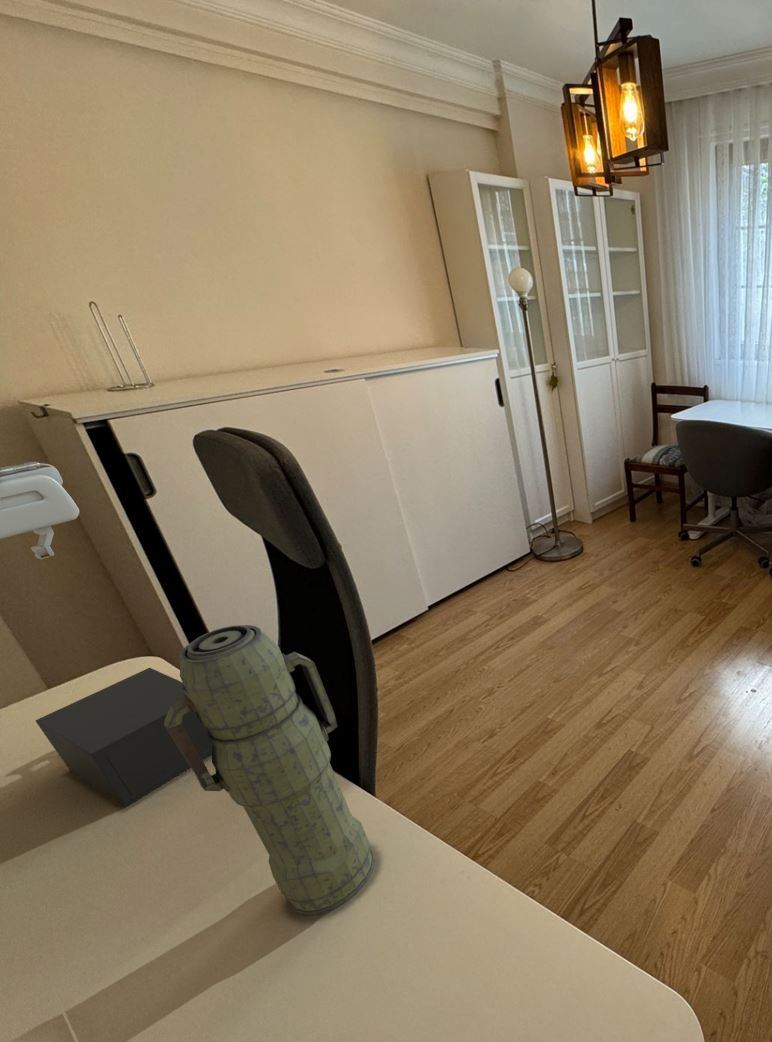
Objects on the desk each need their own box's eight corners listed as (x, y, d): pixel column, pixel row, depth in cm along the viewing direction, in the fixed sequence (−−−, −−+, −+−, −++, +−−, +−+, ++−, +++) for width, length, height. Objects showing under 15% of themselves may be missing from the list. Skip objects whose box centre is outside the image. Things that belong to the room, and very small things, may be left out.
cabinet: (70, 771, 83) (34, 720, 79) (176, 715, 94) (149, 667, 89) (126, 807, 77) (90, 753, 73) (231, 742, 88) (206, 692, 83)
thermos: (259, 902, 65) (118, 658, 50) (362, 825, 74) (268, 599, 59) (296, 944, 60) (153, 691, 46) (400, 857, 69) (310, 622, 55)
